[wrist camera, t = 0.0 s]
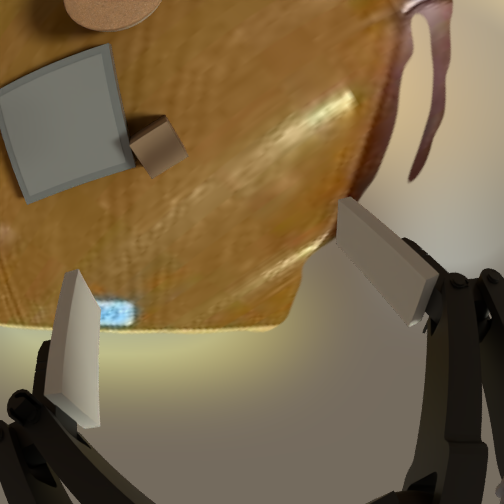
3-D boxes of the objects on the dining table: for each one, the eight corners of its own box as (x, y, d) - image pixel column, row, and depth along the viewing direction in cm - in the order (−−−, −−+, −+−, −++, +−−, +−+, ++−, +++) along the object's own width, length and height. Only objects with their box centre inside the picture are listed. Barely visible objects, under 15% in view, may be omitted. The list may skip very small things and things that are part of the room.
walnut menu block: (131, 135, 35) (129, 145, 31) (165, 114, 35) (167, 121, 31) (151, 165, 38) (152, 178, 34) (183, 145, 38) (188, 156, 34)
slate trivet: (-1, 91, 24) (-10, 93, 22) (111, 44, 27) (108, 43, 25) (32, 196, 34) (26, 205, 32) (136, 161, 37) (135, 167, 35)
